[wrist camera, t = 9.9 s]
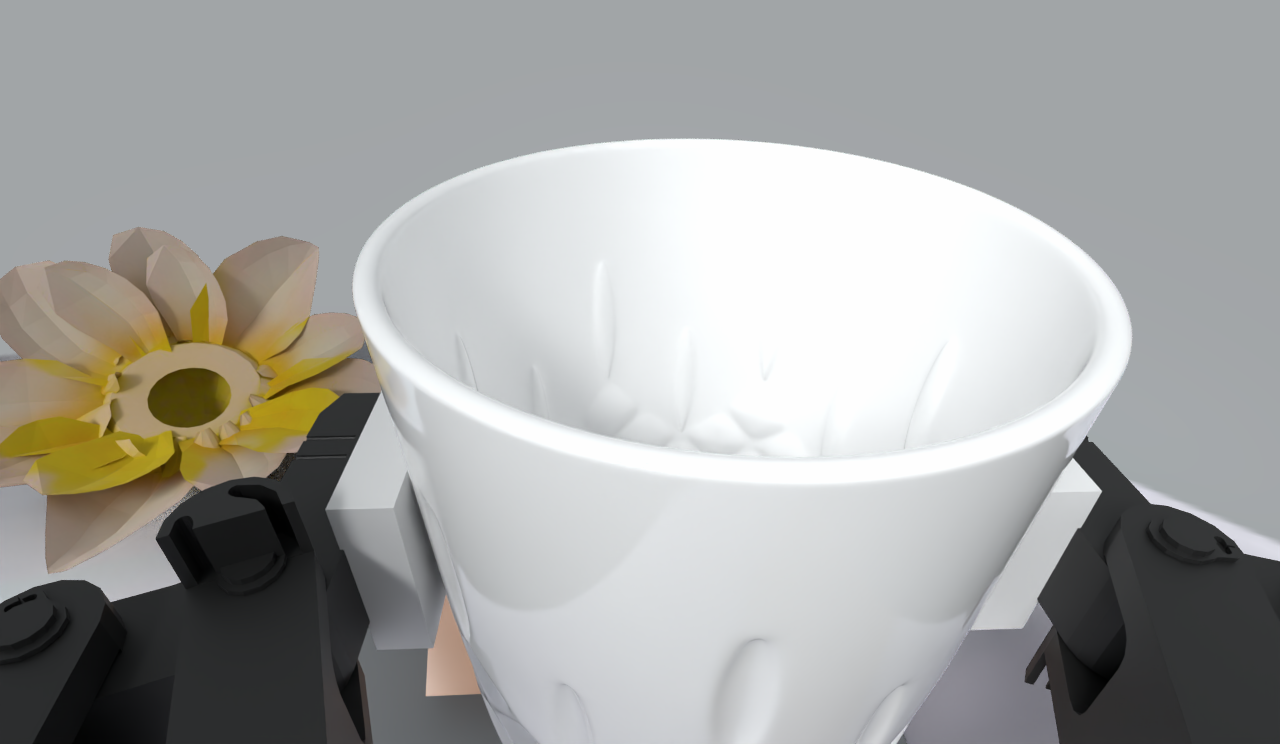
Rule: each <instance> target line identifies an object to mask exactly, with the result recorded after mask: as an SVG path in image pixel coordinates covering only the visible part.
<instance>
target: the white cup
mask: <svg viewBox="0 0 1280 744" xmlns="http://www.w3.org/2000/svg"><path fill="white" fill-rule="evenodd" d="M352 294H353V302H354V306H355V311H356V314H357V317H358V320H359V323H360V326H361V329H362V332H363V335H364V338H365V341H366V344H367V347H368V350H369V354H370V357H371V360H372V363H373V366H374V369H375V372H376V375H377V378H378V381H379V384H380V387H381V390H382V393H383V396H384V400H385V403H386V406H387V409H388V412H389V415H390V418H391V421H392V424H393V427H394V430H395V433H396V437H397V440H398V443H399V446H400V449H401V452H402V455H403V458H404V461H405V465H406V468H407V471H408V474H409V477H410V480H411V484H412V487H413V490H414V493H415V496H416V499H417V503H418V506H419V509H420V512H421V515H422V519H423V522H424V525H425V528H426V531H427V535H428V538H429V541H430V544H431V547H432V551H433V554H434V557H435V560H436V563H437V567H438V570H439V573H440V576H441V579H442V582H443V586H444V589H445V592H446V595H447V599H448V602H449V605H450V608H451V611H452V614H453V617H454V620H455V622H456V625H457V627H458V630H459V632H460V635H461V638H462V640H463V643H464V645H465V648H466V651H467V653H468V656H469V658H470V661H471V663H472V666H473V669H474V673H475V677H476V681H477V684H478V687H479V689H480V692H481V695H482V697H483V700H484V702H485V705H486V708H487V710H488V713H489V715H490V718H491V720H492V722H493V725H494V727H495V729H496V731H497V734H498V736H499V738H500V740H501V742H502V744H897V743H898V741H899V740H900V738H901V736H902V735H903V733H904V732H905V730H906V728H907V727H908V725H909V723H910V722H911V720H912V718H913V717H914V716H915V715H916V713H917V711H918V710H919V708H920V707H921V706H922V704H923V703H924V702H925V700H926V699H927V697H928V696H929V694H930V693H931V692H932V690H933V689H934V687H935V686H936V684H937V683H938V681H939V680H940V678H941V677H942V675H943V674H944V672H945V671H946V669H947V668H948V666H949V664H950V663H951V661H952V660H953V658H954V656H955V655H956V653H957V651H958V650H959V648H960V646H961V645H962V643H963V641H964V639H965V638H966V636H967V634H968V633H969V631H970V629H971V627H972V626H973V624H974V622H975V621H976V619H977V617H978V616H979V614H980V612H981V611H982V609H983V607H984V606H985V604H986V602H987V601H988V599H989V597H990V596H991V594H992V592H993V590H994V589H995V587H996V585H997V584H998V582H999V580H1000V579H1001V577H1002V575H1003V574H1004V572H1005V570H1006V569H1007V567H1008V565H1009V564H1010V562H1011V560H1012V558H1013V557H1014V555H1015V553H1016V552H1017V550H1018V548H1019V547H1020V545H1021V543H1022V542H1023V540H1024V538H1025V537H1026V535H1027V533H1028V531H1029V530H1030V528H1031V526H1032V525H1033V523H1034V521H1035V520H1036V518H1037V516H1038V515H1039V513H1040V511H1041V510H1042V508H1043V506H1044V505H1045V503H1046V501H1047V500H1048V498H1049V496H1050V495H1051V493H1052V491H1053V490H1054V488H1055V486H1056V485H1057V483H1058V481H1059V480H1060V478H1061V476H1062V475H1063V473H1064V471H1065V470H1066V468H1067V466H1068V465H1069V463H1070V462H1071V460H1072V458H1073V457H1074V455H1075V453H1076V452H1077V450H1078V448H1079V447H1080V445H1081V443H1082V442H1083V440H1084V438H1085V437H1086V435H1087V434H1088V432H1089V430H1090V429H1091V427H1092V425H1093V424H1094V422H1095V420H1096V419H1097V417H1098V415H1099V414H1100V412H1101V411H1102V409H1103V407H1104V406H1105V404H1106V402H1107V400H1108V399H1109V397H1110V396H1111V394H1112V393H1113V391H1114V389H1115V388H1116V386H1117V384H1118V383H1119V381H1120V379H1121V377H1122V375H1123V373H1124V371H1125V369H1126V367H1127V364H1128V361H1129V358H1130V353H1131V348H1132V325H1131V320H1130V316H1129V313H1128V310H1127V307H1126V305H1125V302H1124V300H1123V298H1122V296H1121V295H1120V293H1119V291H1118V289H1117V287H1116V286H1115V284H1114V283H1113V282H1112V280H1111V279H1110V278H1109V276H1108V275H1107V274H1106V273H1105V272H1104V270H1103V269H1102V268H1101V267H1100V266H1099V265H1098V264H1097V263H1096V262H1095V261H1094V260H1093V259H1092V258H1091V257H1090V256H1089V255H1088V254H1087V253H1086V252H1085V251H1083V250H1082V249H1081V248H1080V247H1079V246H1077V245H1076V244H1075V243H1074V242H1072V241H1071V240H1069V239H1068V238H1067V237H1065V236H1064V235H1063V234H1061V233H1060V232H1058V231H1057V230H1055V229H1053V228H1052V227H1051V226H1049V225H1047V224H1046V223H1044V222H1042V221H1041V220H1039V219H1037V218H1035V217H1034V216H1032V215H1030V214H1028V213H1026V212H1024V211H1022V210H1021V209H1018V208H1016V207H1015V206H1013V205H1011V204H1008V203H1006V202H1004V201H1002V200H1000V199H998V198H995V197H993V196H991V195H988V194H986V193H983V192H981V191H978V190H976V189H973V188H971V187H968V186H965V185H963V184H960V183H957V182H954V181H951V180H948V179H945V178H942V177H939V176H936V175H933V174H930V173H926V172H923V171H919V170H916V169H912V168H908V167H905V166H901V165H897V164H893V163H889V162H885V161H881V160H876V159H872V158H867V157H862V156H857V155H852V154H847V153H841V152H836V151H830V150H824V149H817V148H809V147H803V146H795V145H786V144H777V143H768V142H755V141H741V140H724V139H646V140H629V141H616V142H605V143H596V144H587V145H580V146H572V147H566V148H559V149H554V150H548V151H543V152H538V153H533V154H528V155H524V156H520V157H515V158H512V159H508V160H504V161H501V162H497V163H494V164H490V165H487V166H484V167H481V168H478V169H475V170H472V171H469V172H466V173H464V174H461V175H459V176H456V177H454V178H452V179H449V180H447V181H445V182H443V183H440V184H439V185H437V186H434V187H432V188H430V189H428V190H427V191H425V192H423V193H421V194H419V195H418V196H416V197H415V198H413V199H411V200H410V201H408V202H407V203H405V204H404V205H402V206H401V207H400V208H398V209H397V210H396V211H395V212H393V213H392V214H391V215H390V216H389V217H388V218H387V219H385V220H384V221H383V222H382V223H381V224H380V225H379V226H378V227H377V229H376V230H375V231H374V232H373V233H372V234H371V236H370V237H369V238H368V240H367V242H366V243H365V245H364V246H363V248H362V250H361V252H360V254H359V256H358V259H357V261H356V265H355V268H354V273H353V281H352Z"/></svg>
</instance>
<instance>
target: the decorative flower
mask: <svg viewBox="0 0 1280 744" xmlns="http://www.w3.org/2000/svg"><path fill="white" fill-rule="evenodd" d="M318 261H319V247H317V246H315V245H313V244H311V243H310V242H306V241H302V240H297V239H293V238H288V237H284V236H280V237H276V238H271V239H267V240H262V241H257V242H255V243H253V244H251V245H249V246H248V247H246V248H244V249H242V250H240V251H239V252H237V253H235V254H233V255H231V256H229V257H228V258H226V259H224V261H223V262H222V263H221V265H220V266H219V267H218V268H217V270H216V271H215V272H214V273H213V274H212V272H211V271H210V269H209V267H208V266H206V264H204V263H203V262H202V260H201V259H200V258H199V256H198V255H197V254H196V253H194V252H193V251H192V250H191V249H190V248H189V247H188V246H187V245H186V244H184V243H183V242H182V241H181V240H179V239H177V238H175V237H174V236H172V235H170V234H168V233H166V232H165V231H160V230H153V229H147V228H141V227H137V228H134V229H131V230H128V231H124V232H121V233H118V234H115V235H113V238H112V243H111V249H110V254H109V263H110V267H111V270H112V271H110V270H108V269H106V268H102V267H99V266H96V265H92V264H89V263H86V262H77V261H63V262H59V263H54V262H51V261H44V262H38V263H33V264H28V265H22V266H17V267H14V268H13V269H12V270H11V271H10V272H8V273H7V274H6V275H5V276H3V277H2V278H1V279H0V335H1V337H2V339H3V340H4V341H5V342H6V343H7V344H8V345H9V346H10V347H11V348H12V349H13V350H14V351H15V352H16V353H17V354H18V355H19V356H20V357H21V358H22V359H17V360H10V361H2V362H0V487H8V486H16V485H24V484H27V485H29V486H30V487H32V488H33V489H35V490H36V491H38V492H39V493H40V494H42V495H47V512H46V531H45V558H46V564H47V570H48V574H51V573H57V572H62V571H66V570H68V569H70V568H72V567H74V566H76V565H78V564H80V563H82V562H84V561H86V560H88V559H90V558H92V557H94V556H96V555H97V554H99V553H101V552H103V551H105V550H107V549H108V548H110V547H112V546H113V545H115V544H116V543H118V542H120V541H121V540H123V539H124V538H126V537H127V536H129V535H130V534H132V533H134V532H135V531H137V530H138V529H140V528H141V527H143V526H145V525H146V524H147V523H149V522H150V521H152V520H153V519H155V518H156V517H158V516H159V515H160V514H162V513H163V512H165V511H166V510H168V509H169V508H171V507H172V506H173V505H175V504H176V503H178V502H179V501H181V500H182V498H183V497H184V496H185V495H186V494H187V493H188V492H189V490H190V489H191V488H192V487H193V486H195V487H197V488H198V489H200V490H201V491H203V490H204V489H207V488H209V487H212V486H215V485H218V484H220V483H223V482H226V481H229V480H233V479H240V478H248V477H262V478H266V477H267V476H268V475H269V474H271V473H272V472H273V471H274V470H275V469H277V468H278V467H279V465H280V464H281V462H282V460H283V459H284V457H285V455H286V453H296V452H298V450H299V448H300V446H301V445H302V443H303V441H306V440H307V437H306V436H307V434H308V433H309V431H310V429H311V427H312V426H313V424H314V422H315V420H316V419H317V417H318V415H319V413H321V412H322V411H323V410H324V409H325V408H327V407H328V406H329V405H330V404H332V403H333V402H334V401H335V400H336V399H338V398H339V397H340V396H341V395H343V394H344V393H381V391H382V390H381V387H380V384H379V381H378V378H377V375H376V372H375V369H374V366H373V364H372V363H370V362H368V361H366V360H364V359H354V358H347V357H348V356H350V355H351V354H353V353H355V352H356V351H358V350H359V349H361V348H362V346H363V343H364V340H365V338H364V335H363V332H362V329H361V326H360V323H359V320H358V317H356V316H353V315H350V314H347V313H323V314H314V315H312V316H310V311H311V305H312V300H313V295H314V289H315V284H316V277H317V269H318ZM309 316H310V317H309Z"/></svg>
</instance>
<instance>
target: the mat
mask: <svg viewBox="0 0 1280 744" xmlns="http://www.w3.org/2000/svg"><path fill="white" fill-rule="evenodd" d="M427 659H428V648H422V649H392V650H377V648H376V645H375V643H374V640H373V637H372V635H371V632H370V629H369V627H368V630H367V633H366V636H365V639H364V642H363V645H362V648H361V651H360V654H359V657H358V660H359V662H360V665H361V667H362V670H363V672H364V675H365V682H366V690H367V698H368V707H369V715H370V723H371V731H372V739H373V744H502V742H501V740H500V738H499V736H498V734H497V731H496V729H495V727H494V725H493V722H492V720H491V718H490V715H489V713H488V710H487V708H486V705H485V702H484V700H483V697H482V695H481V694H467V695H444V696H426V679H427ZM897 744H907V743H906V740H905V738H904V735H902V736H901V738H900V740H899V741H898V743H897Z"/></svg>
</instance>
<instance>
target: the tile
mask: <svg viewBox="0 0 1280 744" xmlns="http://www.w3.org/2000/svg"><path fill="white" fill-rule="evenodd" d="M467 694H481V692H480V689H479V687H478V684H477V681H476V677H475V673H474V669H473V666H472V663H471V661H470V658H469V656H468V653H467V651H466V648H465V645H464V643H463V640H462V638H461V635H460V632H459V630H458V627H457V625H456V622H455V620H454V617H453V614H452V611H451V608H450V605H449V602H448V599H447V595H446V596H445V600H444V605H443V609H442V613H441V618H440V622H439V626H438V630H437V635H436V639H435V643H434V647H433V648H428V659H427V679H426V696H444V695H467Z"/></svg>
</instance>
